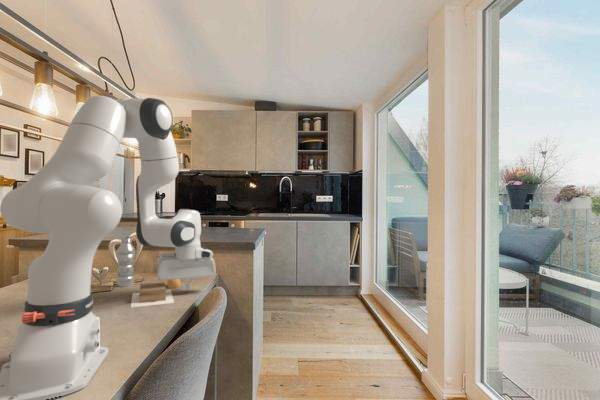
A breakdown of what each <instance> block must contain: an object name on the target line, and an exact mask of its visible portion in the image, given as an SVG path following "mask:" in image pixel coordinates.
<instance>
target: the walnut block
mask: <svg viewBox="0 0 600 400" xmlns="http://www.w3.org/2000/svg"><path fill="white" fill-rule="evenodd" d="M139 285H140V286H139V293H140V303H145V302H155V301H164V300H166V290H167V288H166V287H167V286H166V284H165V282H163V281H162V282H152V283H140V284H139Z"/></svg>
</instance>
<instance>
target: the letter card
mask: <svg viewBox="0 0 600 400" xmlns="http://www.w3.org/2000/svg"><path fill="white" fill-rule="evenodd" d="M174 303H175V301H174V296H173V293H172V290H171V289H166V300H164V301H155V302H145V303H140V292H132V296H131V304H130V308H140V307H149V306H156V305H164V304H165V305H166V304H174Z"/></svg>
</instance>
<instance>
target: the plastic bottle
mask: <svg viewBox="0 0 600 400" xmlns="http://www.w3.org/2000/svg"><path fill="white" fill-rule="evenodd" d="M120 242H121V244H120V245H119V246H118V248H117V250H116V257H117V264H118V265H117V267H118V268H117V275H116V280H115V285H116V287H118V288H128V287H131V286H134V285H135V279H136V278H135V273H134V262H135V261H134V259H135V255H136V248H135V247H134V245H133V244H132V243H133V237H131V236H130V237H129V236H125V237H124V236H123V237H121V241H120Z"/></svg>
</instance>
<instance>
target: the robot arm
mask: <svg viewBox="0 0 600 400" xmlns="http://www.w3.org/2000/svg"><path fill="white" fill-rule="evenodd" d="M173 118H174V117H173V113H172V110H171V108H170V107H169V105H167V104H166V102H165V101H164V100H162V99H159V98H153V97H147V98H140V97H139V98H138V97H137V98H135V97H134V98H132V97H125V98H117V99H114V98H112V97H110V96H106V95H101V94H100V95H93V96H91V97H88V98H87V100H86V101H85V102H84V103H83V104H82V105H81V106H80V107H79V109H78V111H77V112H76V113H75V115H74V117H73V119H72V120H71V122H70V124H69V125H68V128H67V130H66V132H65V134H64V136H63V137H62V139H61V142H60V143H59V145H58V147H57V149H56V151H55V152H54V154H52V156H51V158H50V159H49V160H48V161H47V162H46V163H45V164H44V166H42V168H40V169H39V170H38V171H37V173H35V174H34V175H33V176H32V177H31V178H30V179H28V180H27V181H26V182H24V183H22V184H21V185H20V186H18V187H15V188H14V189H12V190H10V191H8V192H7V193H6V194H5V195H4V197H3V198H2V201H1V202H0V215H1V218H2V220H3V221H4V223H6V224H7V225H8V226H10V227H12V228H14V229H17V230H20V231H23V232H27V233H32V234H43V235H49V240H48V244H47V245H46V248H45V249H44V252H43V253H42V254H41V255H39V256H37V257H36V258H34V259H33V260H32V261H31V262H30V264H29V266H28V270H27V271H28V272H27V274H28V275H27V276H28V277H27V300H26V301H25V302H24V308H23V310H22V316H21V317H22V318H21V323H22V324H20V325H19V326H18V327H17V328H16V330H17V333H16V339H15V343H14V347H13V351H11V352H10V353H9V355H8V358H9V360H10V361H8V362H5V363H4V364H3V365H2V366H1V369H0V400H46V399H49V400H52V399H51V398H53V399H56V398H55V397H57V398H60V397H59V396H61V397H63V396H66V395H70V394H72V393H75V392H77V391H81V390H83V389H84V388H85V387H87V385H88V384H89V382H90V381H91V379H92V377H93V376H94V375H95V373H96V372H97V370H98V369H99V367H100V366H101V365H102V364H103V362H104V360H105V359H106V358H107V356H108V354H109V348H108V347H106V346H102V345H101V342H100V341H101V333H100V331H101V328H100V323H101V322H100V321H101V320H100V317H98V316H97V315H95V314H94V313H93V311H92V310H93V303H94V299H93V297H94V296H93V293H92V292H91V291H92V290H91V287H92V271H93V262H94V258H95V255H96V252H97V251H98V247H99V246H100V244H101V243H102V241H103V239H104V238H105V237H106V236H107V235H109V233H111V232H112V231H114V230H115V229H116V228H117V226H118V225H119V223H120V221H121V218H122V215H123V207H122V206H123V205H122V203H121V201H120V200H121V199H119V196H117V194H116V193H115V192H113V191H111V190H108V189H106V188H105V189H104V188H100V187H97V186H93V184H94V183H96V182H97V181H99V180H100V179H102V178H105V176H107V175H108V174H109V172H110V171H111V170H112V166H113V165H114V164H113V163H114V162H115V158H116V157H117V154H118V151H119V149H120V146H121V143H122V141H123V138H125V139H126V138H127V139H136V141H137V142H138V154H139V159H140V173H139V175H138V176H137V178H136V182H135V198H136V199H135V200H136V201H135V202H136V215H137V216H136V217H137V222H136V229H135V231H136V232H135V235H136V238H137V240H138V242H139V244H141V246H144V247H161V248H163V247H164V248H175V249H174V251H175V252H172V253H171V252H170V253H161V254H160V255H159V256H157V258H156V265H157V266H158V268H157V279H158V280H159V281H167V280H172V279H180V282H181V286H182V291H192V286H193V285H194V283H195V281H196V279H197V278H208V277H214V276H216V274H217V273H216V272H217V271H216V269H217V268H216V261H215V259H214V258H213V257H214V252H213V251H212V250H210V249H208V248H205V247H201V243H202V242H201V234H202V219H201V214H200V213H201V212H199V211H198V210H195V209H190V208H180V209H179V210H178V211H177V214H176V215H175V216H173V217H171V218H160V217H158V216H157V214H156V193H157V190H158V189H160V188H163V187H164V186H166V185H168V184H171V182H173V181H174V180H175V179H176V178H177V176H178V174H179V172H180V163H179V156H178V152H177V146H176V141H175V139H174V136H173V134H172V131H171V130H172V128H173V123H174V119H173ZM185 279H189V280H190V281H189V283H188V284H185V283H184V282H185Z"/></svg>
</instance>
